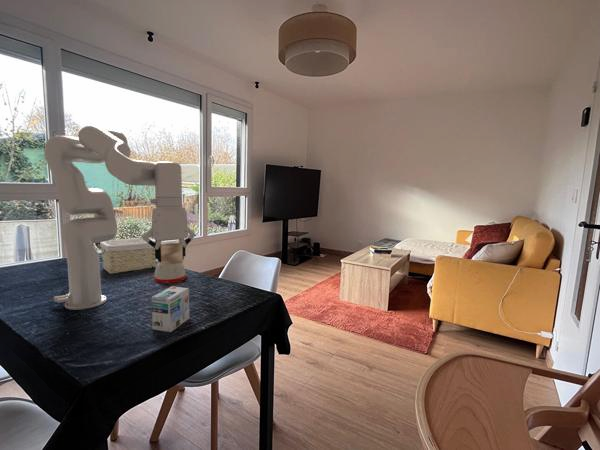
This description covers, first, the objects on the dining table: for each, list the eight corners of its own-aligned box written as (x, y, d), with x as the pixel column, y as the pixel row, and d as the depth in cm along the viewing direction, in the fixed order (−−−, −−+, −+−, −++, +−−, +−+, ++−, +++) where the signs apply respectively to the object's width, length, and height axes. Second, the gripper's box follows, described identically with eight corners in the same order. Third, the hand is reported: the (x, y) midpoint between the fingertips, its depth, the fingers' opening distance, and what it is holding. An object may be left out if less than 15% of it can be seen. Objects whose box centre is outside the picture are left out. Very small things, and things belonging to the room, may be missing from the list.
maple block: (161, 265, 91) (161, 245, 90) (158, 260, 96) (158, 242, 95) (182, 263, 94) (182, 244, 93) (178, 258, 99) (178, 241, 98)
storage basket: (149, 261, 172) (148, 236, 170) (159, 267, 161) (159, 240, 159) (100, 268, 156) (98, 240, 154) (108, 276, 144) (106, 245, 142)
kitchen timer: (147, 280, 140) (146, 248, 138) (169, 272, 152) (169, 243, 150) (170, 284, 135) (170, 252, 133) (192, 276, 147) (191, 246, 146)
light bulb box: (170, 332, 92) (170, 299, 90) (151, 330, 93) (150, 296, 92) (190, 318, 102) (189, 287, 101) (172, 315, 103) (171, 285, 102)
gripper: (138, 203, 85) (141, 266, 87) (200, 203, 94) (201, 259, 96) (136, 202, 91) (138, 260, 93) (194, 202, 100) (195, 254, 103)
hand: (170, 259), depth 95 cm, fingers closed on maple block, 6 cm apart
